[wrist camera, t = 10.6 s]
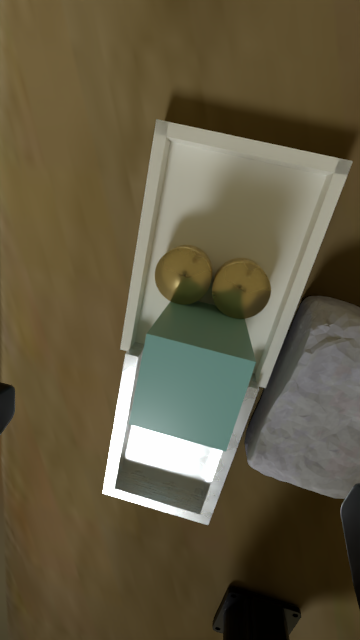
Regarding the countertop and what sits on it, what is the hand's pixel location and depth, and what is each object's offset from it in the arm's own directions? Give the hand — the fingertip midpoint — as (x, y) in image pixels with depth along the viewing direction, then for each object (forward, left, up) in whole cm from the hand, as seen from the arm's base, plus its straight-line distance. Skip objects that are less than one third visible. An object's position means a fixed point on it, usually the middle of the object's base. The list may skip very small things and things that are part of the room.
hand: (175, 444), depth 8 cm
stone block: (-3, -10, -12) cm, 16 cm away
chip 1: (+2, +2, -11) cm, 11 cm away
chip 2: (+2, -2, -11) cm, 11 cm away
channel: (-9, 0, -11) cm, 14 cm away
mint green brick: (-2, 0, -11) cm, 11 cm away
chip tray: (+3, 0, -11) cm, 12 cm away
